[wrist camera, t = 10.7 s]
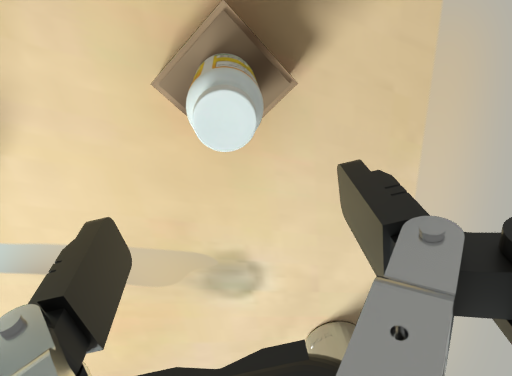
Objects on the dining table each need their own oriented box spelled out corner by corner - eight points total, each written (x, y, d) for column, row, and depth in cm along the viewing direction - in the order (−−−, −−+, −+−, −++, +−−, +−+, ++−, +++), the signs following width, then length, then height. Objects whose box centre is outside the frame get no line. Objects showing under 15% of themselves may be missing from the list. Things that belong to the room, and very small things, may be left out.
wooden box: (290, 74, 33) (298, 84, 29) (227, 136, 36) (227, 152, 32) (223, -1, 29) (223, -1, 26) (158, 74, 32) (149, 84, 28)
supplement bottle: (239, 40, 27) (246, 60, 19) (265, 100, 30) (282, 140, 21) (181, 70, 28) (163, 102, 19) (211, 126, 30) (208, 174, 22)
